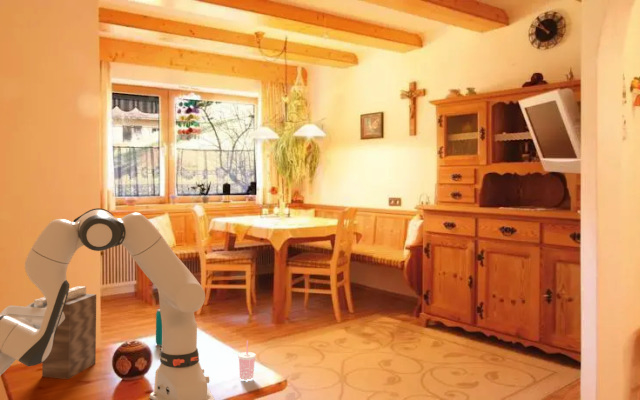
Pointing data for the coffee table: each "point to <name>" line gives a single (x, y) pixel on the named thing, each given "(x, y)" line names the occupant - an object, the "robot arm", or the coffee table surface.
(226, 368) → the coffee table surface
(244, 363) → the beverage cup
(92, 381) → the coffee table surface
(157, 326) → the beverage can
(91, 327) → the wavy grain block
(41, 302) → the wooden bar
